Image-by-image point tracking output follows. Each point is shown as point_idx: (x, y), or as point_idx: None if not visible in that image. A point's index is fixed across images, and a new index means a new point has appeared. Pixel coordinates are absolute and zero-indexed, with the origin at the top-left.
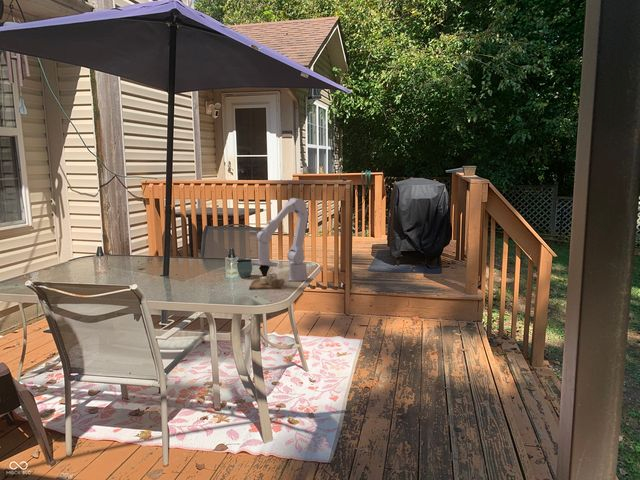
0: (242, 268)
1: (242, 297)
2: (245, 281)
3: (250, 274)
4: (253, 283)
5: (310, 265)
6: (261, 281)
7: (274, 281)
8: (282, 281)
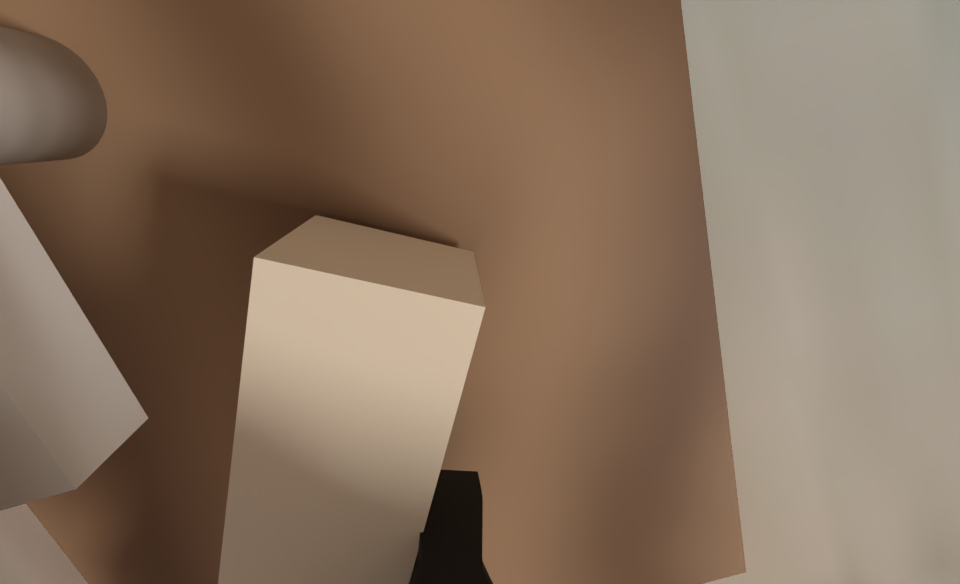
0: None
1: None
2: (879, 513)
3: None
4: (660, 277)
5: None
6: (416, 254)
7: None
8: (84, 568)
